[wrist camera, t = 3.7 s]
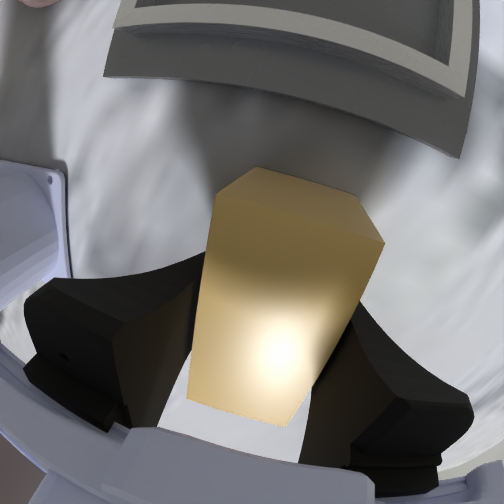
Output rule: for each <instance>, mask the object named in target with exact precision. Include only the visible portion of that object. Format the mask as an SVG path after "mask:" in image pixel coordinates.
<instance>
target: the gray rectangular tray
mask: <svg viewBox="0 0 504 504" xmlns="http://www.w3.org/2000/svg"><path fill="white" fill-rule="evenodd" d="M113 28H114V29H115V30H114V34H113V37H112V41H111V45H110V48H109V52H108V56H107V61H106V65H105V69H104V74H103V77H108V78H150V79H170V80H184V81H195V82H204V83H213V84H220V85H227V86H234V87H240V88H246V89H252V90H257V91H262V92H267V93H272V94H277V95H281V96H286V97H290V98H294V99H298V100H302V101H306V102H310V103H313V104H317V105H321V106H324V107H327V108H331V109H334V110H337V111H341V112H344V113H347V114H350V115H353V116H356V117H359V118H362V119H365V120H367V121H370V122H373V123H376V124H378V125H381V126H383V127H386V128H389V129H391V130H394V131H396V132H398V133H401V134H403V135H406V136H408V137H410V138H412V139H415V140H417V141H419V142H421V143H424V144H426V145H428V146H430V147H432V148H434V149H436V150H438V151H440V152H442V153H444V154H446V155H448V156H450V157H454V158H457V159H459V158H460V154H461V150H462V147H463V143H464V139H465V134H466V130H467V126H468V121H469V116H470V111H471V106H472V100H473V94H474V88H475V81H476V73H477V64H478V52H479V34H480V2H479V0H122V1H121V4H120V7H119V9H118V12H117V15H116V19H115V22H114V25H113Z"/></svg>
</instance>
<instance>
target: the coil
mask: <svg viewBox="0 0 504 504" xmlns="http://www.w3.org/2000/svg"><path fill="white" fill-rule="evenodd" d="M17 1H19V2H21V3H23V4H26V5H28V6H30V7H34V8H40V7H46V6H49V5H52V4H55V3H56V2H58V1H60V0H17Z"/></svg>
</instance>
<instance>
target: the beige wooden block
mask: <svg viewBox="0 0 504 504" xmlns="http://www.w3.org/2000/svg"><path fill="white" fill-rule="evenodd" d="M384 245H385V242H384V241H383V239H382V237H381V236H380V234H379V232H378V231H377V229H376V227H375V226H374V224H373V223H372V221H371V219H370V218H369V216H368V215H367V213H366V212H365V210H364V209H363V207H362V205H361V204H360V202H359V201H358V199H357V198H356V196H355V195H353V194H350V193H347V192H343V191H340V190H337V189H334V188H331V187H328V186H324V185H321V184H318V183H314V182H311V181H308V180H304V179H301V178H297V177H294V176H290V175H287V174H283V173H279V172H275V171H272V170H268V169H264V168H260V167H254V168H253V169H251V170H250V171H248V172H247V173H245V174H244V175H242V176H241V177H239V178H238V179H236V180H235V181H234V182H232V183H231V184H229V185H228V186H226V187H225V188H223V189H222V190H220V191H219V192H218V193H216V196H215V201H214V207H213V212H212V218H211V223H210V229H209V235H208V241H207V247H206V253H205V259H204V266H203V272H202V279H201V285H200V292H199V299H198V306H197V313H196V321H195V328H194V336H193V344H192V352H191V361H190V370H189V379H188V389H187V399H190V400H192V401H195V402H198V403H201V404H204V405H207V406H210V407H213V408H216V409H219V410H222V411H225V412H229V413H232V414H236V415H239V416H243V417H246V418H250V419H254V420H258V421H261V422H266V423H270V424H274V425H278V426H283V427H286V425H287V424H288V422H289V421H290V420H291V418H292V417H293V415H294V414H295V412H296V411H297V409H298V408H299V406H300V405H301V403H302V402H303V400H304V399H305V397H306V395H307V394H308V392H309V391H310V389H311V387H312V386H313V384H314V383H315V381H316V379H317V378H318V376H319V374H320V373H321V371H322V369H323V368H324V366H325V364H326V363H327V361H328V359H329V357H330V356H331V354H332V352H333V350H334V349H335V347H336V345H337V343H338V341H339V339H340V338H341V336H342V334H343V332H344V330H345V328H346V326H347V324H348V323H349V321H350V319H351V317H352V315H353V313H354V311H355V309H356V307H357V305H358V303H359V301H360V299H361V297H362V294H363V292H364V290H365V288H366V286H367V284H368V282H369V279H370V277H371V275H372V273H373V271H374V268H375V266H376V264H377V262H378V259H379V257H380V255H381V252H382V250H383V247H384Z"/></svg>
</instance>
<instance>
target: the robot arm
mask: <svg viewBox="0 0 504 504" xmlns="http://www.w3.org/2000/svg"><path fill="white" fill-rule="evenodd" d="M52 179H53V180H52ZM205 253H206V251H205V252H203V253H200V254H198V255H196V256H193V257H191V258H188V259H186V260H184V261H181V262H178V263H175V264H172V265H170V266H167V267H164V268H161V269H157V270H153V271H149V272H145V273H140V274H135V275H128V276H121V277H114V278H101V279H74V278H71V274H70V266H69V257H68V247H67V234H66V215H65V177H64V174H63V173H62V172H60V171H57V170H52V169H47V168H42V167H37V166H32V165H27V164H21V163H16V162H11V161H5V160H0V311H1V310H2V309H4V308H5V307H6V306H7V305H9V304H10V303H11V302H12V301H14V300H15V299H16V298H18V297H19V296H20V295H21V294H23V293H24V292H25V291H27V290H28V289H29V288H31V287H32V286H33V285H35V284H36V283H37V282H39V281H40V280H41V281H43V282H45V283H46V284H45V285H43V286H42V287H41V288H39V289H38V290H37V291H36V292H34V293H33V294H32V295H30V296H29V297H28V298H27V299H26V301H25V303H24V317H25V321H26V325H27V328H28V331H29V333H30V336H31V339H32V342H33V344H34V347H35V349H36V352H37V354H36V355H35V356H34V357H33V358H32V359H31V360H30V361H29V362H28V363H27V364H25V363H24V362H23V361H21V360H20V359H19V358H18V357H17V356H15V355H14V354H13V353H12V352H11V351H10V350H8V349H7V348H6V347H5V346H4V345H3V344H2V343H1V340H0V433H1V434H2V435H3V436H4V437H5V438H6V439H7V440H8V441H9V442H10V443H11V444H12V445H13V446H14V447H16V448H17V449H18V450H19V451H20V452H21V453H22V454H24V455H25V456H26V457H27V458H28V459H29V460H30V461H32V462H33V463H34V464H36V465H37V466H38V467H39V468H40V469H42V470H43V471H44V472H45V473H47V474H46V476H45V477H44V479H43V480H42V482H41V484H40V485H39V487H38V489H37V490H36V492H35V494H34V495H33V497H32V498H31V500H30V502H29V503H28V504H504V468H503V464H502V460H497V461H494V462H489V463H485V464H483V465H481V466H479V467H477V468H475V469H474V470H472V471H471V472H469V473H468V474H467V475H466V476H463V477H458V478H452V479H446V480H440V481H438V473H437V466H439V465H440V464H441V463H442V457H441V453H442V452H443V451H445V450H446V449H447V448H449V447H450V446H451V445H452V444H454V443H455V442H456V441H457V440H458V439H460V438H461V437H462V436H463V435H464V434H465V433H466V432H467V431H468V429H469V428H470V426H471V425H472V423H473V420H474V412H473V409H472V406H471V403H470V400H469V397H468V395H467V394H465V393H463V392H461V391H460V390H458V389H456V388H454V387H452V386H451V385H449V384H447V383H445V382H444V381H442V380H440V379H439V378H437V377H436V376H435V375H433V374H432V373H430V372H429V371H427V370H426V369H425V368H423V367H422V366H421V365H419V364H418V363H417V362H416V361H414V360H413V359H412V358H411V357H410V356H408V355H407V354H406V353H405V352H404V351H403V350H402V349H401V348H400V347H399V346H398V345H397V344H396V343H395V342H394V341H393V340H392V339H391V338H390V337H389V336H388V335H387V334H386V333H385V332H384V331H383V330H382V328H381V327H380V326H379V325H378V324H377V323H376V321H375V320H374V319H373V318H372V316H371V315H370V314H369V313H368V311H367V310H366V309H365V307H364V306H363V305H362V303H361V302H360V301H359V303H358V305H357V307H356V309H355V311H354V313H353V315H352V317H351V319H350V321H349V323H348V324H347V326H346V328H345V330H344V332H343V334H342V336H341V338H340V339H339V341H338V343H337V345H336V347H335V349H334V350H333V352H332V354H331V356H330V357H329V359H328V361H327V363H326V364H325V366H324V368H323V369H322V371H321V373H320V374H319V376H318V378H317V379H316V381H315V383H314V384H313V386H312V391H311V401H310V408H309V414H308V420H307V425H306V430H305V435H304V440H303V445H302V449H301V453H300V457H299V461H298V463H292V462H287V461H281V460H276V459H271V458H266V457H262V456H257V455H253V454H249V453H245V452H241V451H237V450H234V449H230V448H226V447H223V446H220V445H216V444H213V443H210V442H207V441H204V440H201V439H198V438H195V437H192V436H189V435H185V434H181V433H178V432H174V431H170V430H167V429H163V428H160V427H157V425H158V422H159V420H160V417H161V415H162V412H163V410H164V408H165V405H166V403H167V400H168V398H169V396H170V393H171V391H172V389H173V386H174V384H175V382H176V380H177V377H178V375H179V373H180V371H181V369H182V367H183V364H184V362H185V360H186V359H187V357H188V355H189V353H190V351H191V350H192V344H193V336H194V328H195V321H196V313H197V306H198V299H199V292H200V285H201V279H202V272H203V266H204V259H205Z"/></svg>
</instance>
